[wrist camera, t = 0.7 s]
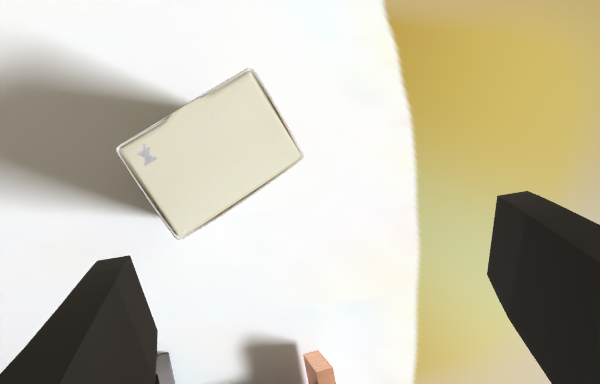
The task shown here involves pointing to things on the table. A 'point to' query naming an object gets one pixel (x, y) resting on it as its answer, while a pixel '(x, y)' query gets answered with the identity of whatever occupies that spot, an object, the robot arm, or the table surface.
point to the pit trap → (164, 370)
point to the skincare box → (211, 153)
